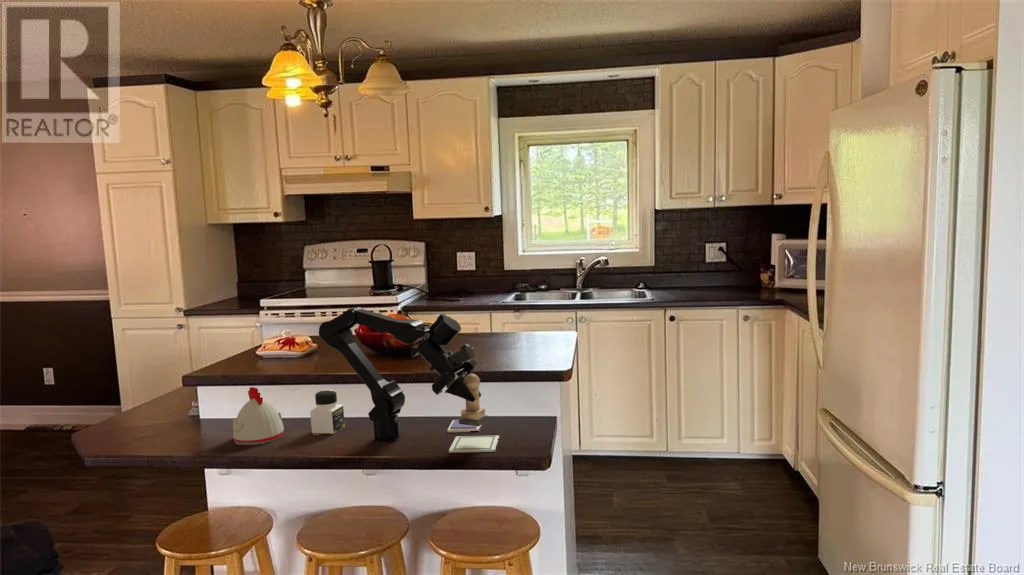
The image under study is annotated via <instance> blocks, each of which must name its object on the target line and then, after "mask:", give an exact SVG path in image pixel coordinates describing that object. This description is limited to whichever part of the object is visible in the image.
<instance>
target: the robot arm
mask: <svg viewBox="0 0 1024 575" xmlns="http://www.w3.org/2000/svg"><path fill="white" fill-rule="evenodd" d="M356 325H360V326H363V327H367V328H370V329H374V330H377V331H380V332H384V333H387V334H389V335H391V336H392V337H393V338H394V339H396V340H398V341H400V342H401V343H404V344H407V345H411V344H414V343H417V342H418V344H417V345H413V346H411V355H410V357H411V358H415V357H416V356H419V355H420V356H421V357H422V359H424V360H425V362H427V364H428V365H429V366H430V368H429V370H430V371H431V372H434V371H435V372H436V373H437V374H438V375H439V376H438V378H437V379H435V381H434V382H433V383H432V384H431V390H432V392H433V393H434V394H435V395H436V396H438V395H440V394H441V393H443V390H444V388H446V390H445V391H444V393H445V394H449V395H452V396H456V397H459V398H461V399H463V400H465V401H466V400H468V401H471V402H474V401H475V400H476V399H475V397H474V396H473V394H472V393H471V392H470V391H469V389H468V388H467V387H466V386H465V384H464V383H463V381H464V378H465V377H466V376H467V375H468V374H474V371H475V368H476V367H477V366H478V363H477V361H475V360H474V359H473V358H475V357H476V355H475V353H474V351H475V348H474V347H472V345H470V344H468V343H465V344H463V345H461V346H460V350H458V351H457V352H455V353H454V352H453V351H452V350H448V351H447V350H446V349H445V348H444V347H443V346H448V345H449V344H450V343H451V342H452V341H453V339H454V338H455V337H456V336H457V335H458V334H459V333H460V332H461V330H462V327H461V324H460V323H459V322H458V321H457V320H456V319H454V318H452V317H451V316H448V315H446V314H445V313H440V314H439V315H438V316H437V318H436V320H435V321H434V322H433V324H428V323H426V324H425V321H423V320H421V319H413V318H395V317H392V316H389V315H384V314H381V313H377V312H375V311H372V310H371V311H370V310H367V309H364V308H362V307H360V306H355V307H351V308H348V309H347V310H345V311H344V312H343V313H341V314H340V315H338V316H336V317H334V318H332V319H330V320H326V321H323V322H322V323H321V324H320V325H319V328H318V336H319V338H320V339H321V340H322V341H323V342H324V344H326V345H327V346H328V347H331V348H332V349H334V350H336V351H338V352H339V353H340V354H341V355H342V357H343V358H344V359H345V360H346V362H347V363H348V364H349V366H350V367H351V368H352V369H353V371H355V373H356V374H357V375H358V377H359V378H360V379H361V381H362V383H364V384H365V386H366V387H367V388H368V390H369V391H370V397H371V401H372V404H373V405H374V406H373V407H372V408H371V410H369V412H368V413H367V415H368V418H369V419H370V421H371V422H373V434H374V435H373V436H374V437H373V438H372V442H373V443H374V442H375V443H377V442H379V443H380V442H383V443H385V442H396V441H397V440H398V439H399V437H400V436H401V434H402V432H401V430H402V429H401V420H399V415H398V414H400V413H401V410H402V408H403V406H405V401H406V396H405V394H404V389H402V388H401V387H400V386H399V385H398V382H397V381H396V380H391V381H388V380H386V379H384V377H383V376H382V375H381V374H380V372H379V371H378V370H377V368H376V367H375V366H374V365H373V363H372V361H370V360H369V358H368V357H367V356H366V355H365V353H364V352H363V351H362V350H361V349H360V347H359V346H358V344H357V343H356V342H355V340H354V335H353V330H352V328H353V327H355V326H356ZM426 336H428V337H427V338H425V337H426ZM481 397H482V394H481V392H480V391H479V399H480V398H481Z"/></svg>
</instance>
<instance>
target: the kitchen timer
mask: <svg viewBox="0 0 1024 575" xmlns="http://www.w3.org/2000/svg"><path fill="white" fill-rule="evenodd" d="M247 394H248V397H249V400H248V401H247V402H246V403H245V404H244V405H243V406H242V407H241V408H240V410H239V411H238V414H237V416H236V418H235V417H234V418H233V421H232V431H233V433H232V440H233V439H234V440H235V441H238V442H260V441H266V440H271V439H274V438H277V437H279V436H281V435H282V434H283V433H284V434H285V428H284V424H283V419H282V414H281V412H280V411H279V412H278V411H277V409H276V408H275V407H274V405H273V404H272V403H270V402H269V401H267V400H266V399H264V397H263V396H262V397H261V392H259V390H258V387H253V386H249V390H247Z"/></svg>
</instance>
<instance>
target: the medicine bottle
mask: <svg viewBox="0 0 1024 575" xmlns="http://www.w3.org/2000/svg"><path fill="white" fill-rule="evenodd" d="M337 395H338V394H337V392H336V390H333V389H324V390H321V391H317V392H316V393H315V395H314V398H315V399H314V400H315V406H316V407H315V408H313V409H311V410H310V411H309V412H310V413H309V414H310V424H311V425H310V426H311V433H330V434H331V433H332V434H334V433H336V432H337V431H339V430H340V429H341V430H343V429H344V428H345V412H344V405H343V404H340V403H339V404H338V398H337V397H338V396H337ZM343 427H344V428H343ZM342 428H343V429H342ZM341 430H340V431H341ZM340 431H339V432H340ZM337 433H338V432H337ZM337 433H336V434H337ZM334 435H335V434H334Z"/></svg>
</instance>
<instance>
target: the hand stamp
mask: <svg viewBox="0 0 1024 575" xmlns="http://www.w3.org/2000/svg"><path fill="white" fill-rule="evenodd" d="M463 383H464V384H465V386H466V387H467V388H468V389H469V391H470V392H471V393H472V394H473V396H474V397H475V399H476V400H475V401H474V402H471V401H468V400H466V399H465V408H463V409H462V410H460V417H459V418H458V419H459V424H463V425H471V426H480V425H481V426H482V425H483V424H485V423H487V422H488V415H487V414H485V413H486V411H485V408H483V407H480V398H479V392H480V386H481V378H480V377H479V376H478V375H477V374H475V373H473V374H468V375H467V376H466V377H465V378H464V381H463Z"/></svg>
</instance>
